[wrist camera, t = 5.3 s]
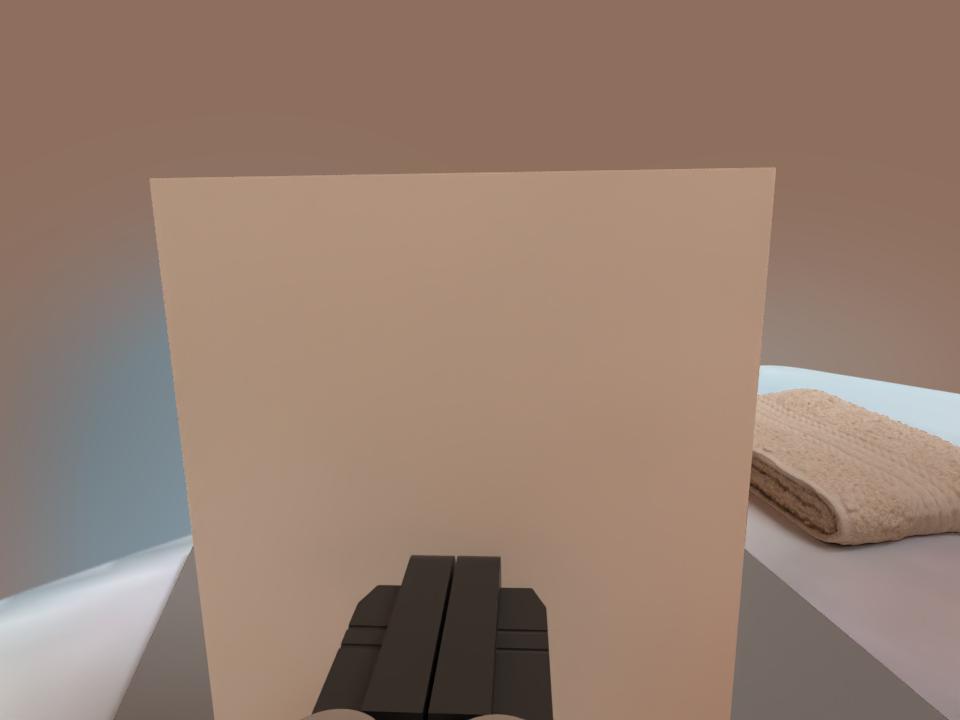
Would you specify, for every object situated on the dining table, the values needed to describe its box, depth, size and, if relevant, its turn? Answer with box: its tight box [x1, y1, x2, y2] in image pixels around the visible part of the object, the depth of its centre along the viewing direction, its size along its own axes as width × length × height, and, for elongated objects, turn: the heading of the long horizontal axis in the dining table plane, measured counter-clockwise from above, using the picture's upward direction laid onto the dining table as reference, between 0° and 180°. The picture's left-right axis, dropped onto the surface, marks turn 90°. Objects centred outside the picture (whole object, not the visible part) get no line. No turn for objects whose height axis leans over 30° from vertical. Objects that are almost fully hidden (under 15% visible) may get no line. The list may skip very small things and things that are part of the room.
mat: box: [114, 545, 948, 720], centre depth 21 cm, size 22×18×1 cm
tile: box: [150, 168, 776, 720], centre depth 13 cm, size 10×2×14 cm, turn 86°
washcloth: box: [749, 389, 960, 545], centre depth 37 cm, size 12×18×3 cm, turn 11°
